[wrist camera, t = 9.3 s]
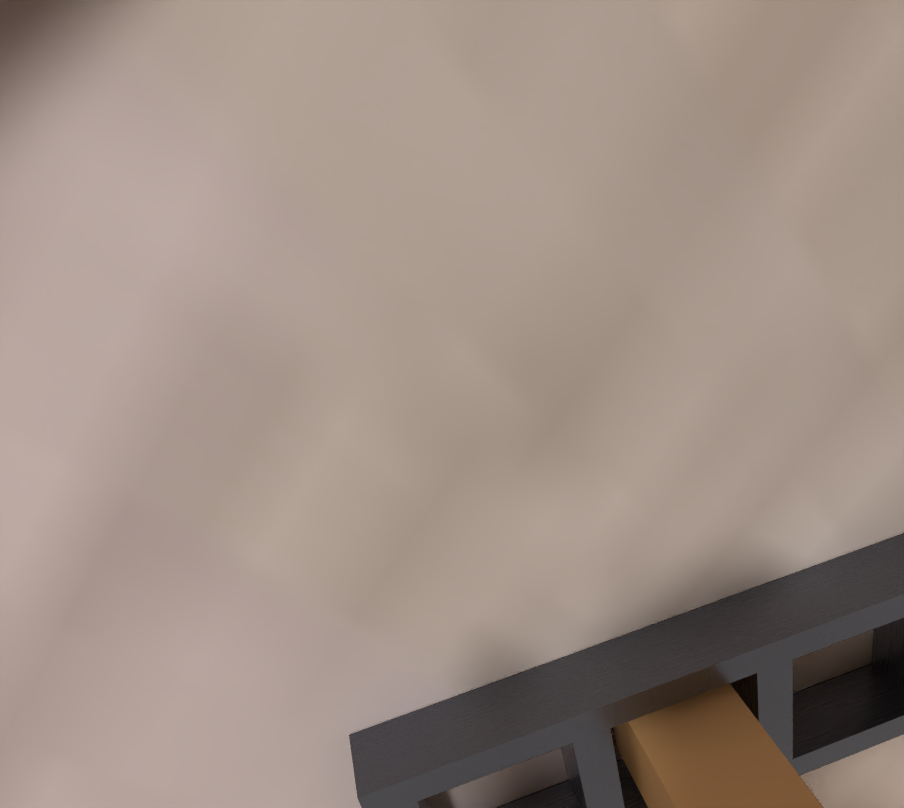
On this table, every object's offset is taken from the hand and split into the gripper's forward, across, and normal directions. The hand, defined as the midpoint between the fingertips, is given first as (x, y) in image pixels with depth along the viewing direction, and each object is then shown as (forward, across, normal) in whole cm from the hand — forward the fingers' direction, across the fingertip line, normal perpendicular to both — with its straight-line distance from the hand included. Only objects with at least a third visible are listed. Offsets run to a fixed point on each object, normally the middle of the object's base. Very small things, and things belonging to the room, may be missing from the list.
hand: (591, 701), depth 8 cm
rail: (+13, -6, +18) cm, 23 cm away
